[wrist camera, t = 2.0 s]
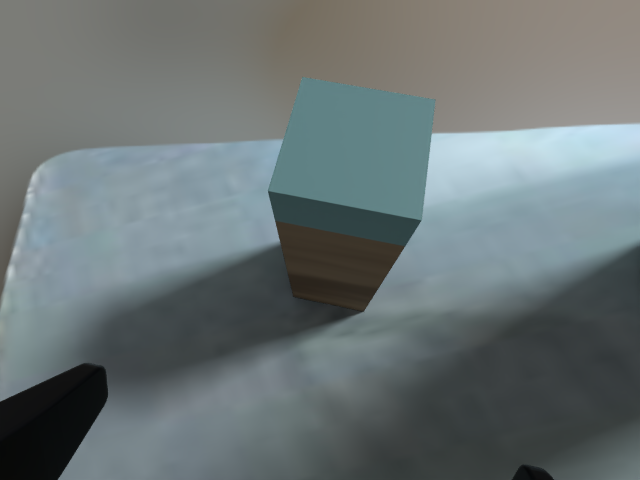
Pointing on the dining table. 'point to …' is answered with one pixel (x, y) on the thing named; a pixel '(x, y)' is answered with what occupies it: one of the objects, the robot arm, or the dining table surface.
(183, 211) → the dining table surface
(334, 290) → the wooden block
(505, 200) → the dining table surface
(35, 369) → the dining table surface
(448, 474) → the dining table surface
